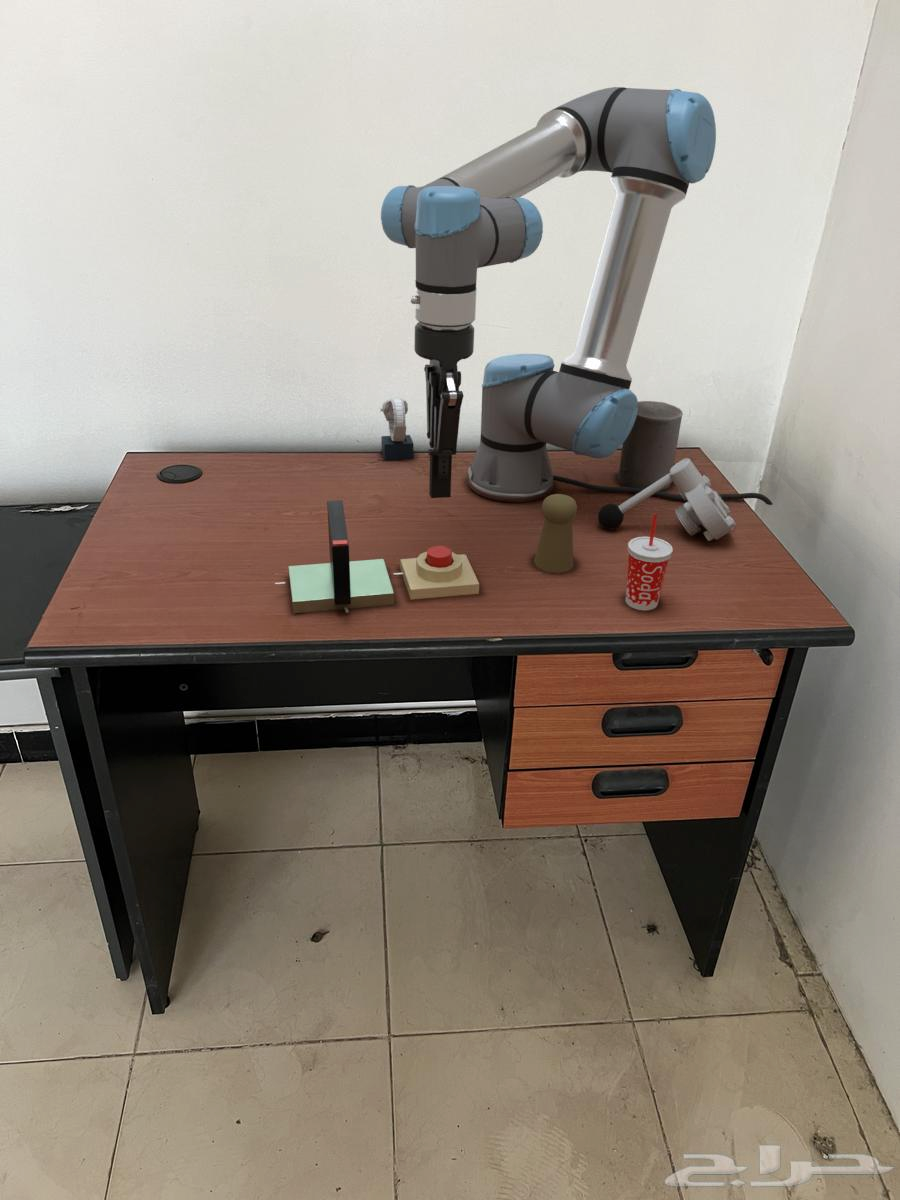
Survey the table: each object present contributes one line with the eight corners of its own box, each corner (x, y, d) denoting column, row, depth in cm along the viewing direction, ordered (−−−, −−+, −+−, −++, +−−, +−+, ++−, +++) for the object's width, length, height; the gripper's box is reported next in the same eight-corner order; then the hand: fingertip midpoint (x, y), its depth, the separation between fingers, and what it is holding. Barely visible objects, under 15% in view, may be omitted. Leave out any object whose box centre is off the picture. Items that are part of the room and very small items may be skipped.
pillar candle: (613, 487, 162) (623, 407, 154) (623, 467, 170) (633, 390, 162) (667, 496, 159) (680, 415, 151) (674, 475, 167) (688, 397, 159)
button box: (465, 563, 136) (466, 543, 134) (478, 593, 129) (480, 572, 127) (400, 568, 134) (400, 548, 132) (410, 599, 127) (410, 578, 125)
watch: (408, 446, 176) (408, 391, 170) (414, 462, 169) (415, 406, 163) (379, 447, 175) (378, 393, 169) (385, 463, 168) (384, 407, 162)
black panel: (329, 555, 133) (327, 499, 128) (344, 554, 133) (342, 498, 128) (334, 605, 121) (331, 544, 116) (351, 604, 122) (348, 544, 117)
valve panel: (393, 556, 138) (393, 543, 136) (413, 619, 123) (414, 606, 121) (273, 565, 134) (272, 552, 133) (279, 631, 119) (278, 618, 118)
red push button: (448, 555, 132) (449, 544, 131) (453, 567, 129) (454, 556, 128) (424, 557, 131) (424, 546, 130) (429, 569, 128) (429, 558, 127)
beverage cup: (616, 608, 126) (628, 519, 119) (624, 587, 131) (636, 500, 124) (659, 617, 125) (675, 527, 117) (666, 596, 130) (681, 508, 122)
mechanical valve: (743, 535, 140) (691, 461, 136) (645, 594, 147) (593, 525, 142) (733, 512, 149) (684, 441, 145) (641, 568, 156) (592, 502, 152)
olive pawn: (547, 576, 134) (554, 509, 128) (526, 558, 138) (532, 493, 132) (581, 567, 136) (589, 502, 130) (559, 550, 141) (566, 486, 135)
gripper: (406, 310, 117) (405, 478, 129) (424, 337, 106) (421, 517, 118) (462, 309, 118) (456, 475, 130) (486, 336, 107) (477, 514, 119)
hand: (439, 495), depth 124 cm, fingers closed
